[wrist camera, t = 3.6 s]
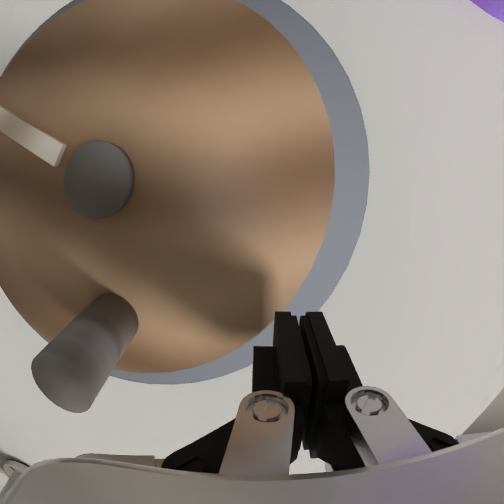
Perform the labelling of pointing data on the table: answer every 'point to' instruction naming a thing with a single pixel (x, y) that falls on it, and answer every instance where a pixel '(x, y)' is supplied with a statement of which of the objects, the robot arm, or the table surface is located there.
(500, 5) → the masking tape
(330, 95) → the base plate
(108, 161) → the dial
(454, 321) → the table surface
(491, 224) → the table surface
